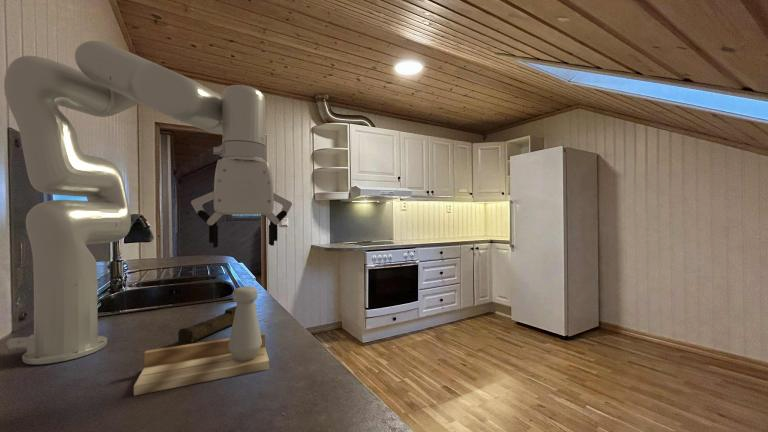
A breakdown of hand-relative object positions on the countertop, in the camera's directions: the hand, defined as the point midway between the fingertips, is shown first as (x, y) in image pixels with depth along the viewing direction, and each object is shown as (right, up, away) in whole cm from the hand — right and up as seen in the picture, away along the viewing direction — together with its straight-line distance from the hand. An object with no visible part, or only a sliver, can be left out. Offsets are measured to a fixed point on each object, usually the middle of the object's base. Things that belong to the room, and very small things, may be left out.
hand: (244, 245), depth 61 cm
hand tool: (-15, -23, +19) cm, 33 cm away
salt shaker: (0, -21, 0) cm, 21 cm away
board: (-6, -22, -2) cm, 23 cm away
